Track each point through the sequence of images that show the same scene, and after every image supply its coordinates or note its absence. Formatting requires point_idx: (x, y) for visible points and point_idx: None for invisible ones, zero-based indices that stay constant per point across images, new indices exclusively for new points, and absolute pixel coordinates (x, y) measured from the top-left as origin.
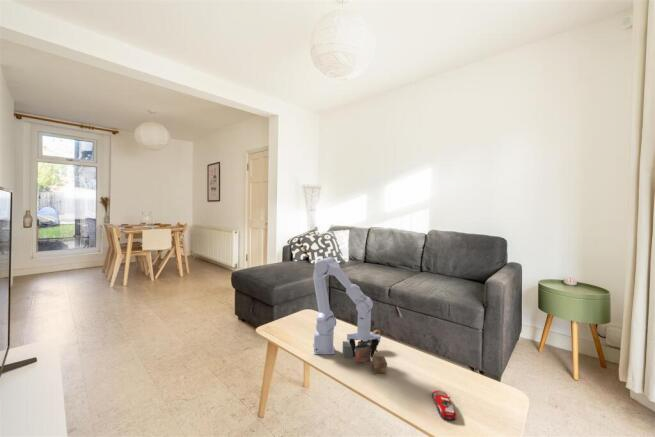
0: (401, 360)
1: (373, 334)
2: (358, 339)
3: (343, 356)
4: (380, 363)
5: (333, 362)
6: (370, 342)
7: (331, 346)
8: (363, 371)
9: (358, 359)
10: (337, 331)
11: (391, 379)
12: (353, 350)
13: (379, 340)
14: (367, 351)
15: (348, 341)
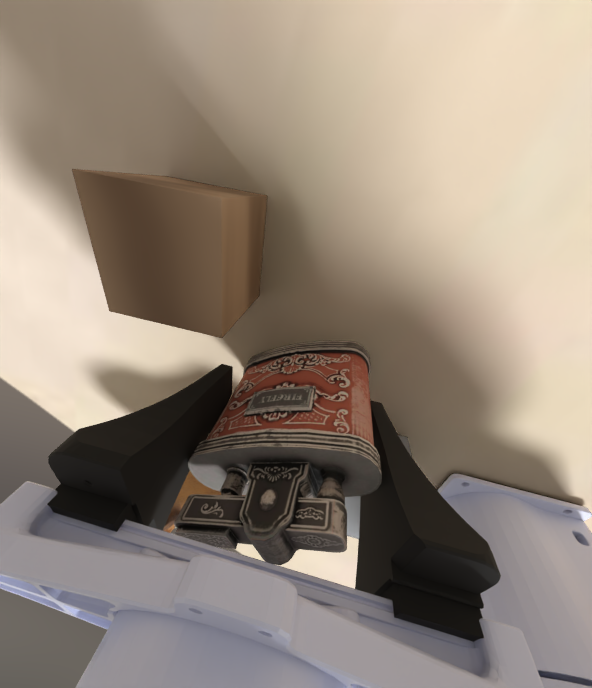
0: (61, 322)
1: (68, 610)
2: (361, 625)
3: (406, 441)
4: (157, 185)
5: (518, 412)
6: (199, 486)
7: (477, 531)
8: (346, 258)
9: (349, 369)
10: (331, 570)
11: (131, 74)
12: (401, 451)
13: (32, 486)
14: (251, 408)
15: (350, 536)
